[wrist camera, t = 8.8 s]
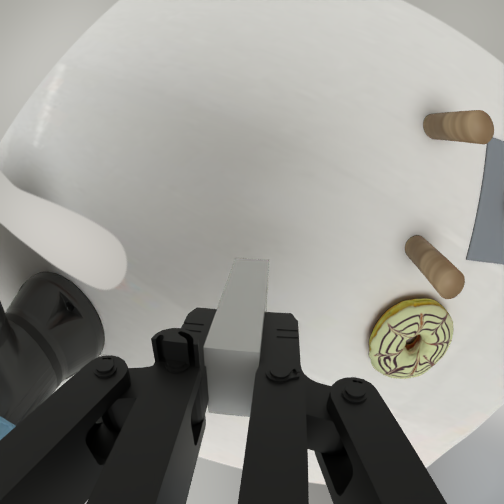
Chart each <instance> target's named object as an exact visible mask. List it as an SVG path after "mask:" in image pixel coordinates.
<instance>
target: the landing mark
mask: <svg viewBox="0 0 504 504" xmlns="http://www.w3.org/2000/svg"><path fill="white" fill-rule="evenodd" d="M466 260H472V261H481V262H489V263H497V264H504V141H501V140H498V139H495V138H493V137H492V139H491V141H490V142H488V143H487V150H486V159H485V167H484V175H483V181H482V188H481V194H480V199H479V205H478V210H477V215H476V220H475V225H474V229H473V233H472V238H471V242H470V246H469V250H468V254H467V257H466Z"/></svg>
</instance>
